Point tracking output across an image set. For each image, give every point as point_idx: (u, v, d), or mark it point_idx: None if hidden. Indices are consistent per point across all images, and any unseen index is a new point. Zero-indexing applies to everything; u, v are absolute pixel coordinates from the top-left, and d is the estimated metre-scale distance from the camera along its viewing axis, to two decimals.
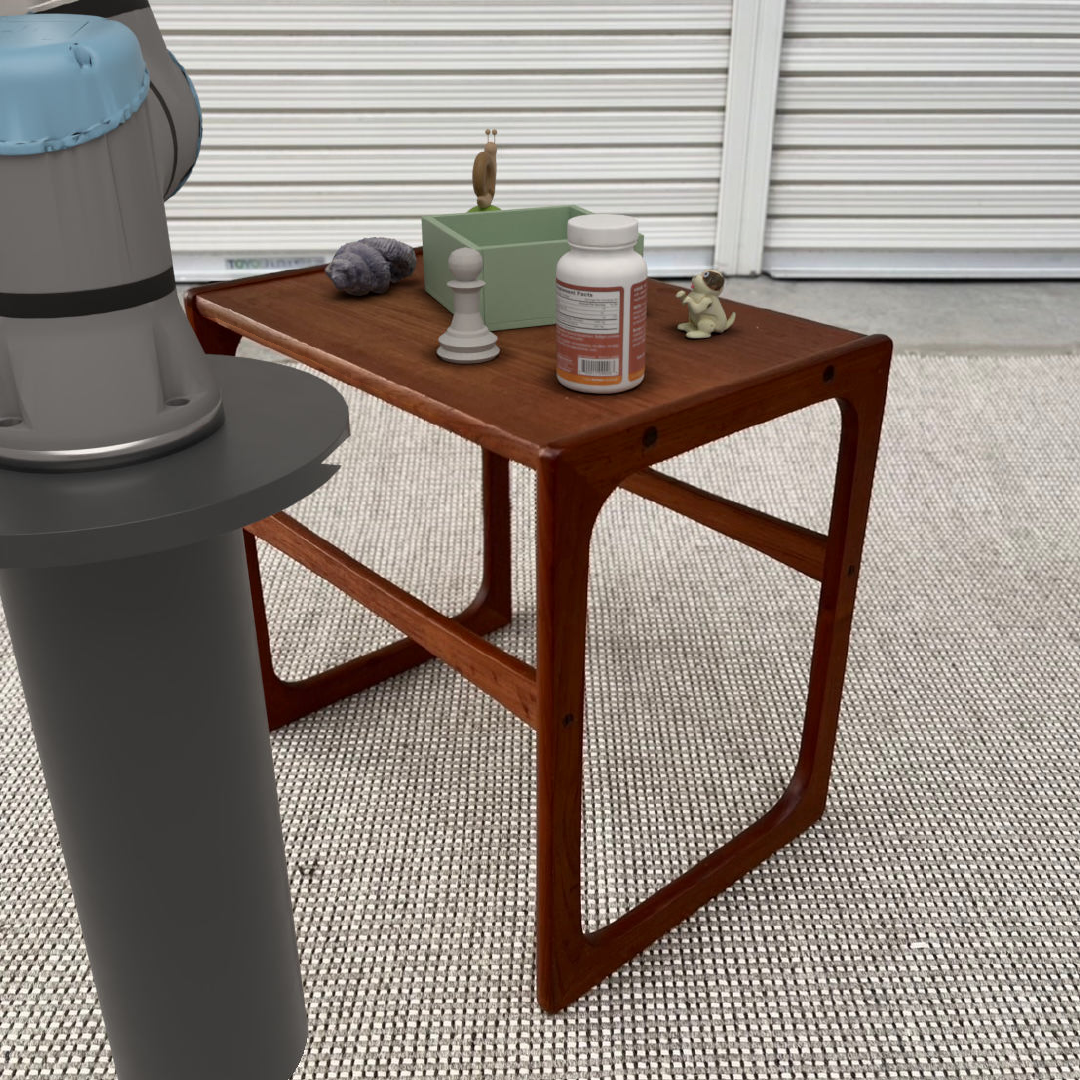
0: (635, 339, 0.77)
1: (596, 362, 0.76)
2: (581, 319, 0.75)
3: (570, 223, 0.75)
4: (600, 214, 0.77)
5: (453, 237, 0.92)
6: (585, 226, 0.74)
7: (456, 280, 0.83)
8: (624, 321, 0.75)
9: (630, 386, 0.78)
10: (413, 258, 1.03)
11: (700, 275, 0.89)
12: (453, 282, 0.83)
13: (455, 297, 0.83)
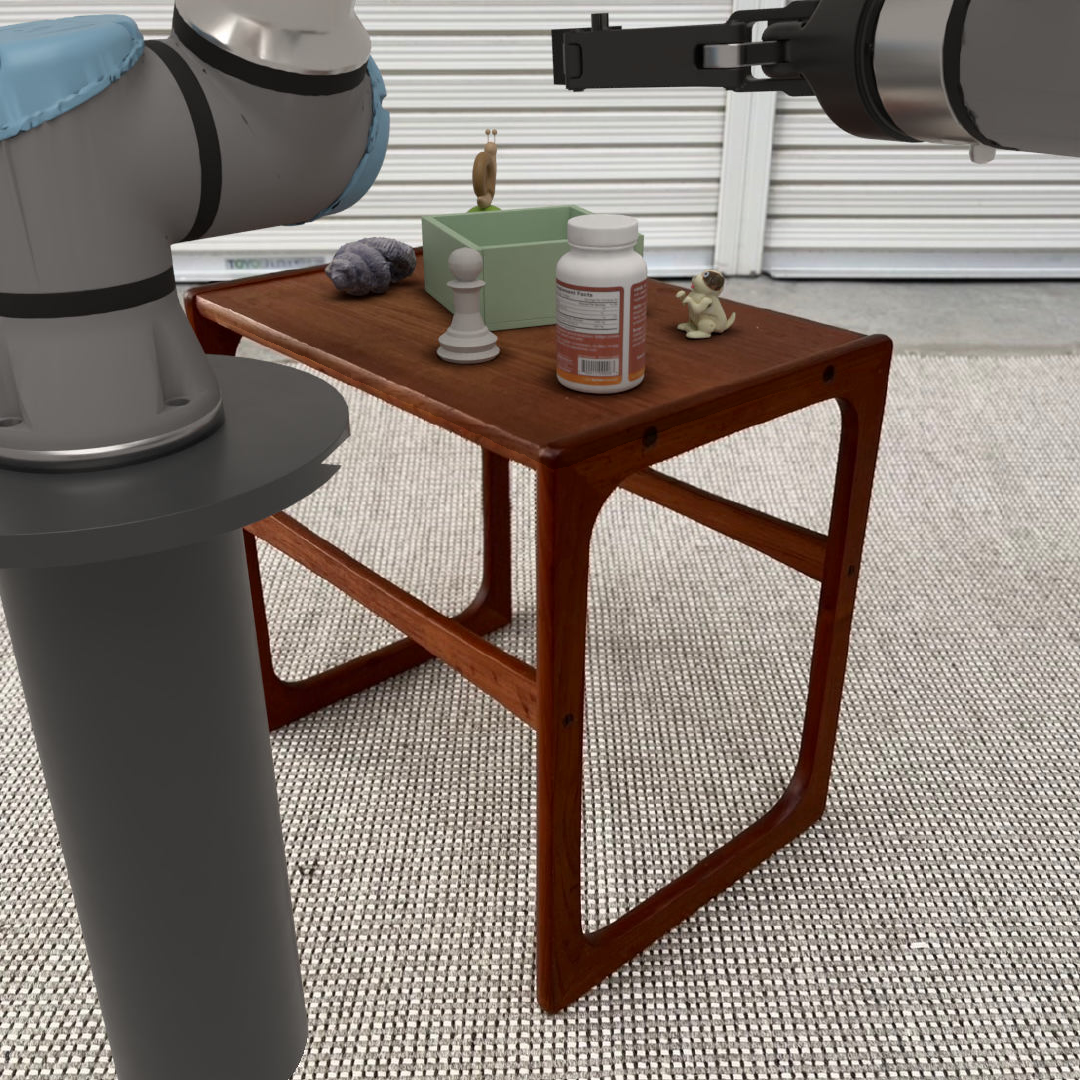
0: (635, 339, 0.77)
1: (596, 362, 0.76)
2: (581, 319, 0.75)
3: (570, 223, 0.75)
4: (600, 214, 0.77)
5: (453, 237, 0.92)
6: (585, 226, 0.74)
7: (456, 280, 0.83)
8: (624, 321, 0.75)
9: (630, 386, 0.78)
10: (413, 258, 1.03)
11: (700, 275, 0.89)
12: (453, 282, 0.83)
13: (455, 297, 0.83)
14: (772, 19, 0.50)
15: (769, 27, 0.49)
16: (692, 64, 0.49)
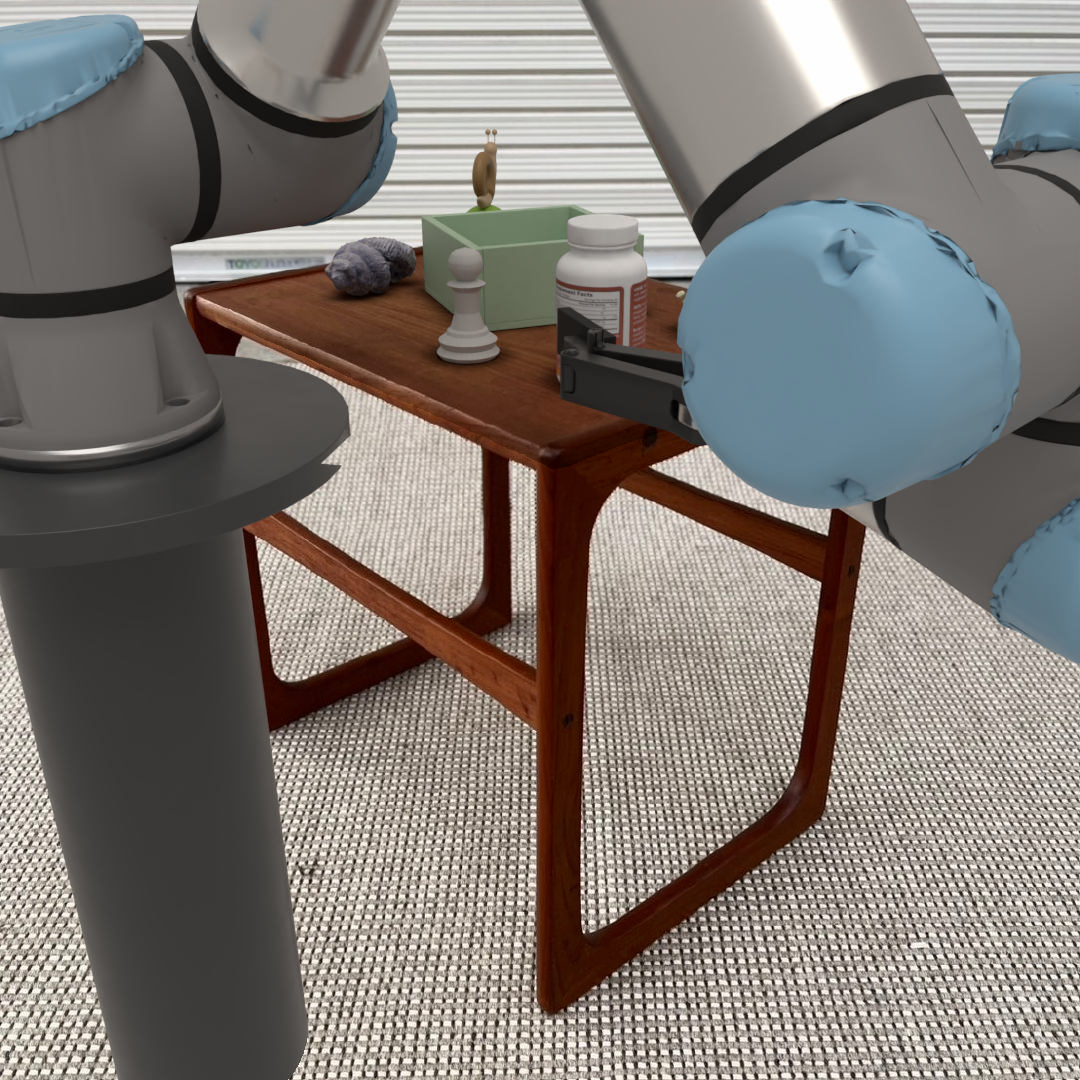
0: (635, 339, 0.77)
1: None
2: None
3: (570, 223, 0.75)
4: (600, 214, 0.77)
5: (453, 237, 0.92)
6: (585, 226, 0.74)
7: (456, 280, 0.83)
8: (624, 321, 0.75)
9: None
10: (413, 258, 1.03)
11: None
12: (453, 282, 0.83)
13: (455, 297, 0.83)
14: None
15: None
16: (668, 413, 0.55)
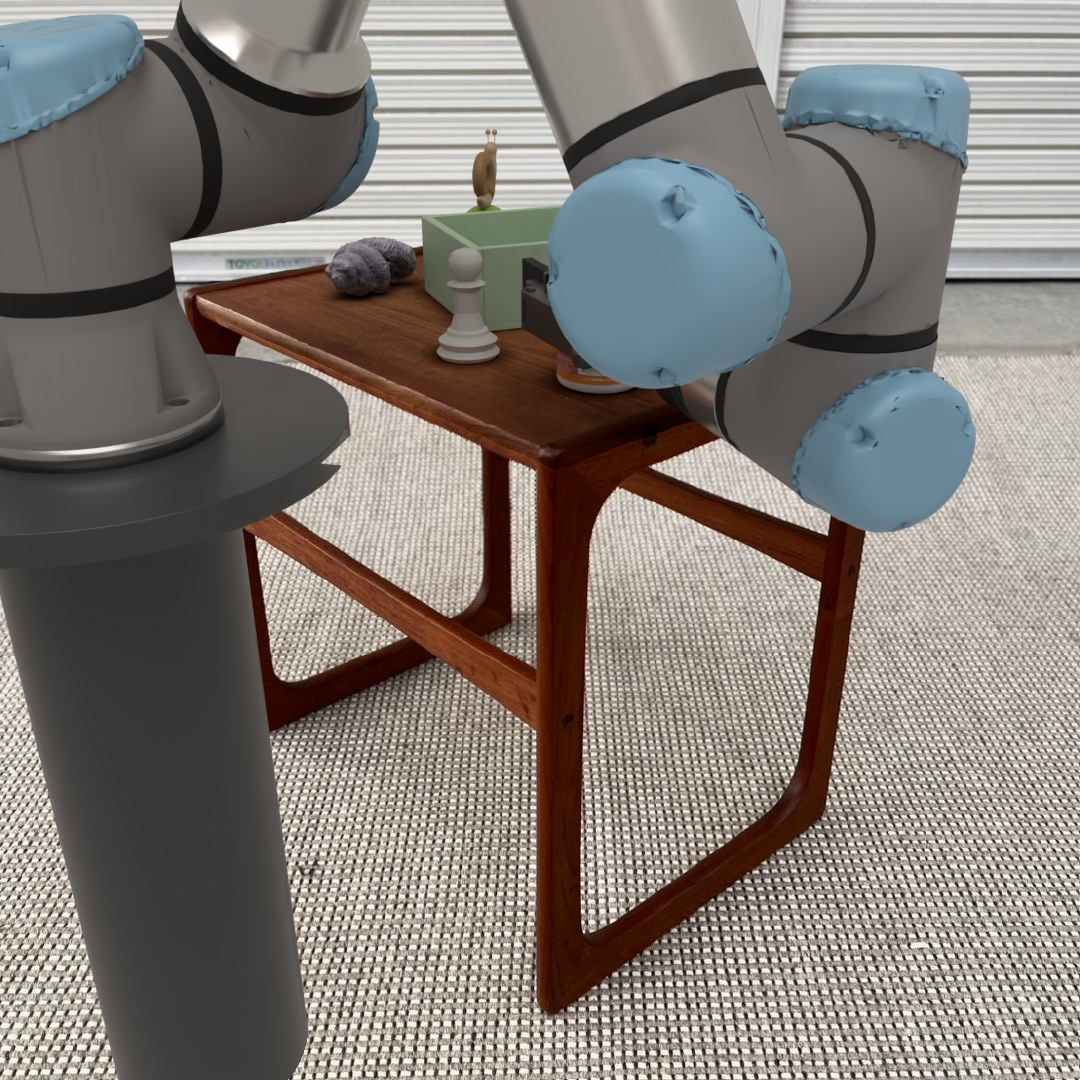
0: None
1: None
2: None
3: None
4: None
5: (453, 237, 0.92)
6: None
7: (456, 280, 0.83)
8: None
9: (630, 386, 0.78)
10: (413, 258, 1.03)
11: None
12: (453, 282, 0.83)
13: (455, 297, 0.83)
14: None
15: None
16: (569, 341, 0.67)
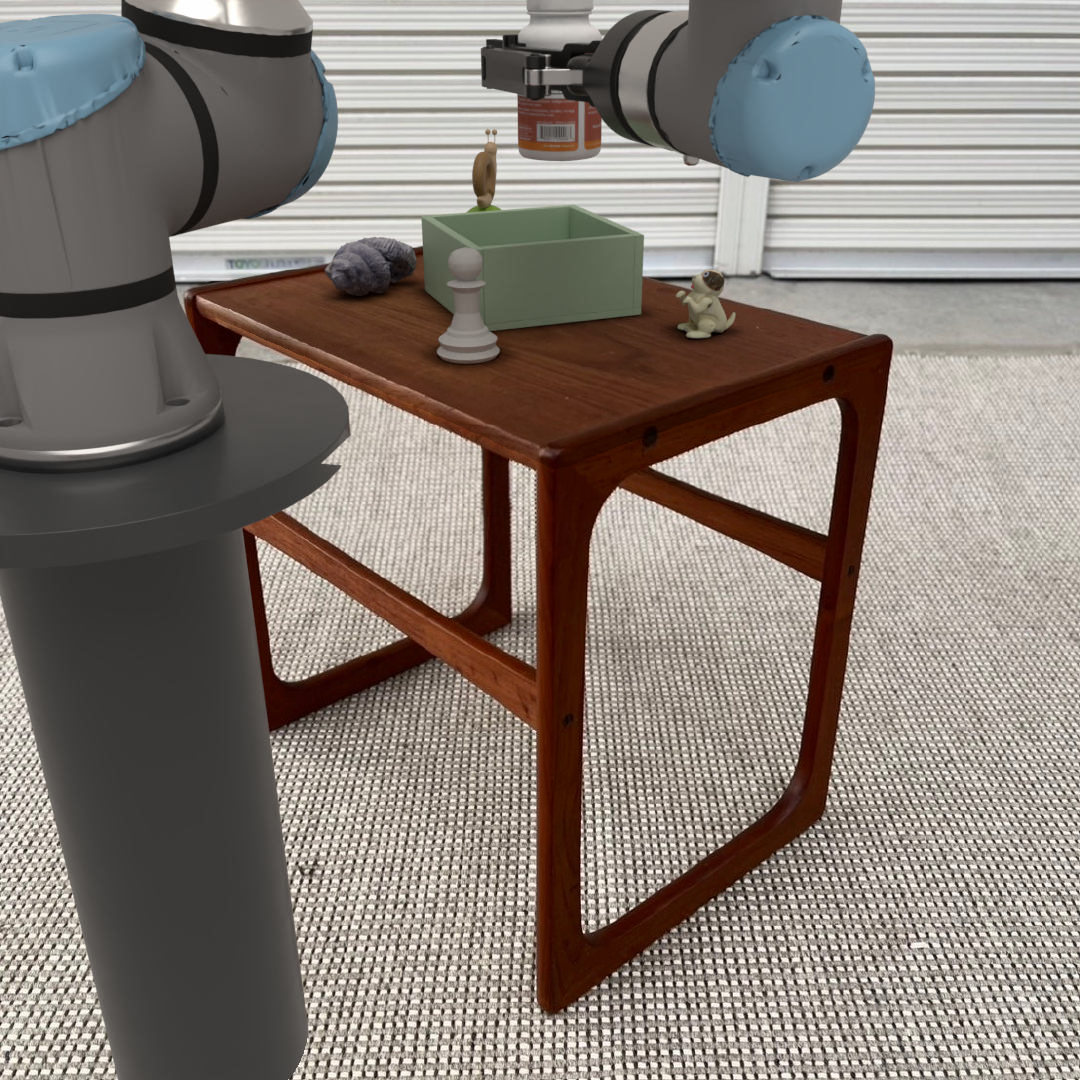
0: (590, 107, 0.82)
1: (553, 127, 0.81)
2: None
3: None
4: None
5: (453, 237, 0.92)
6: None
7: (456, 280, 0.83)
8: None
9: (586, 154, 0.83)
10: (413, 258, 1.03)
11: (700, 275, 0.89)
12: (453, 282, 0.83)
13: (455, 297, 0.83)
14: (583, 51, 0.72)
15: (571, 59, 0.70)
16: (522, 79, 0.72)
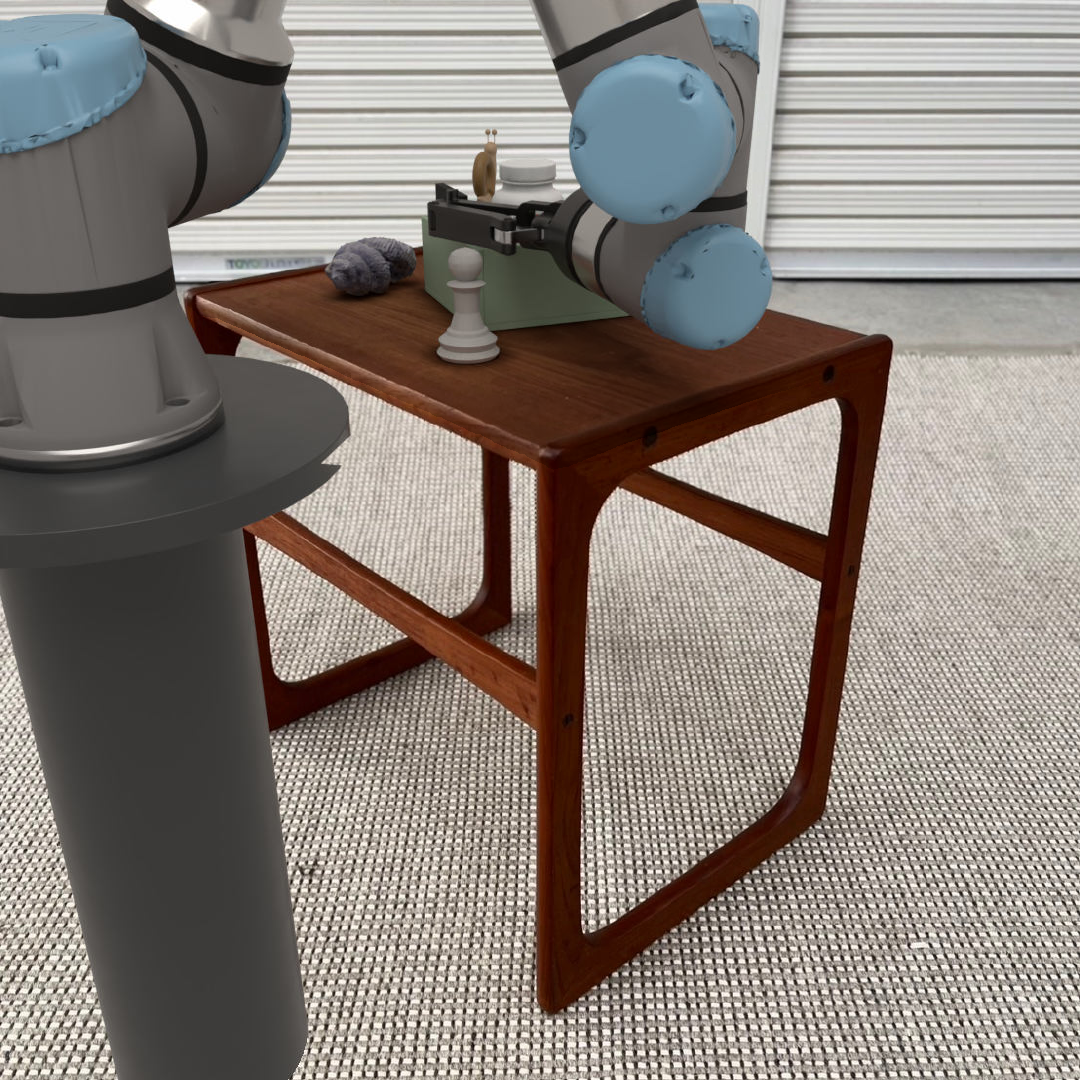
0: None
1: None
2: None
3: (501, 164, 0.94)
4: None
5: None
6: (512, 165, 0.93)
7: (456, 280, 0.83)
8: None
9: None
10: (413, 258, 1.03)
11: None
12: (452, 282, 0.83)
13: (455, 297, 0.83)
14: (541, 210, 0.85)
15: (534, 219, 0.84)
16: (489, 236, 0.85)
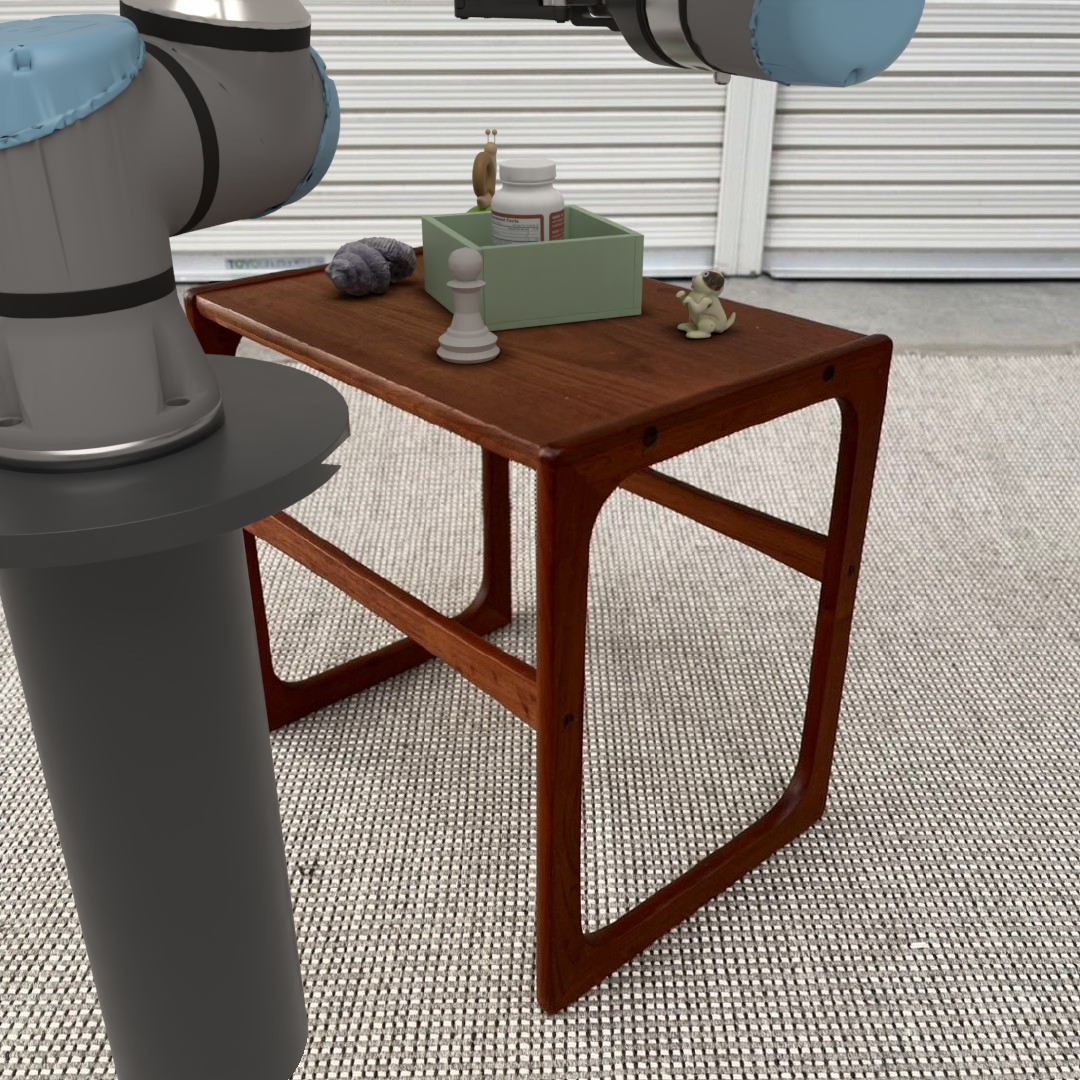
0: None
1: None
2: (510, 241, 0.94)
3: (501, 164, 0.94)
4: None
5: (453, 237, 0.92)
6: (512, 166, 0.93)
7: (456, 280, 0.83)
8: None
9: None
10: (413, 258, 1.03)
11: (700, 275, 0.89)
12: (453, 282, 0.83)
13: (455, 297, 0.83)
14: None
15: None
16: (535, 2, 0.68)
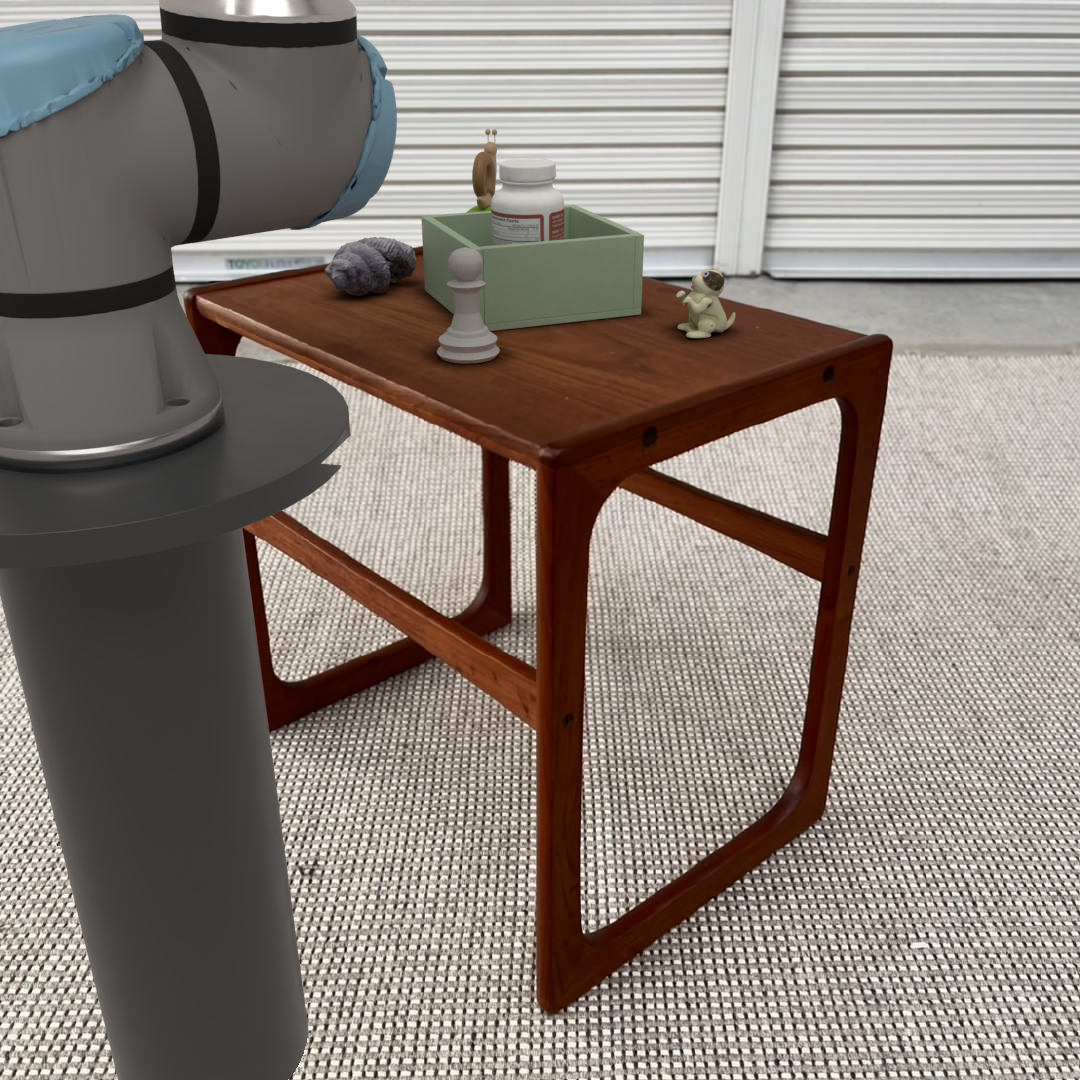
0: None
1: None
2: (510, 241, 0.94)
3: (501, 164, 0.94)
4: None
5: (453, 237, 0.92)
6: (512, 166, 0.93)
7: (456, 280, 0.83)
8: None
9: None
10: (413, 258, 1.03)
11: (700, 275, 0.89)
12: (453, 282, 0.83)
13: (455, 297, 0.83)
14: None
15: None
16: None
